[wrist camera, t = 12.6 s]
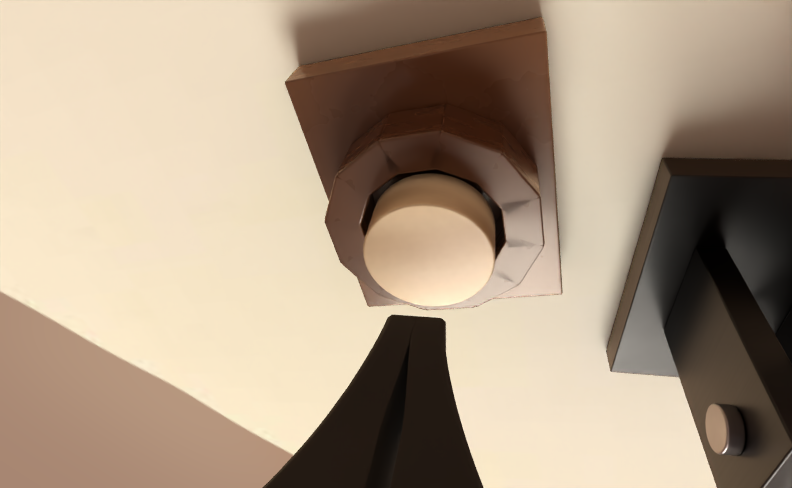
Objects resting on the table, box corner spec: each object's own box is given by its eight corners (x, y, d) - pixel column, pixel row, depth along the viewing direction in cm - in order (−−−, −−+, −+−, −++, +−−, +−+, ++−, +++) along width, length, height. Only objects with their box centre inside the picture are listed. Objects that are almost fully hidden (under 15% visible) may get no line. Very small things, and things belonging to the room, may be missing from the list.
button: (502, 266, 17) (502, 303, 16) (389, 276, 18) (381, 310, 17) (486, 164, 15) (485, 196, 14) (358, 181, 16) (346, 212, 15)
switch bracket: (662, 157, 17) (770, 363, 10) (934, 161, 16) (1260, 400, 9) (605, 351, 23) (650, 561, 17) (799, 365, 22) (934, 599, 15)
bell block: (558, 269, 21) (568, 333, 18) (374, 283, 23) (358, 342, 20) (542, 16, 15) (552, 54, 12) (298, 65, 17) (261, 107, 14)
